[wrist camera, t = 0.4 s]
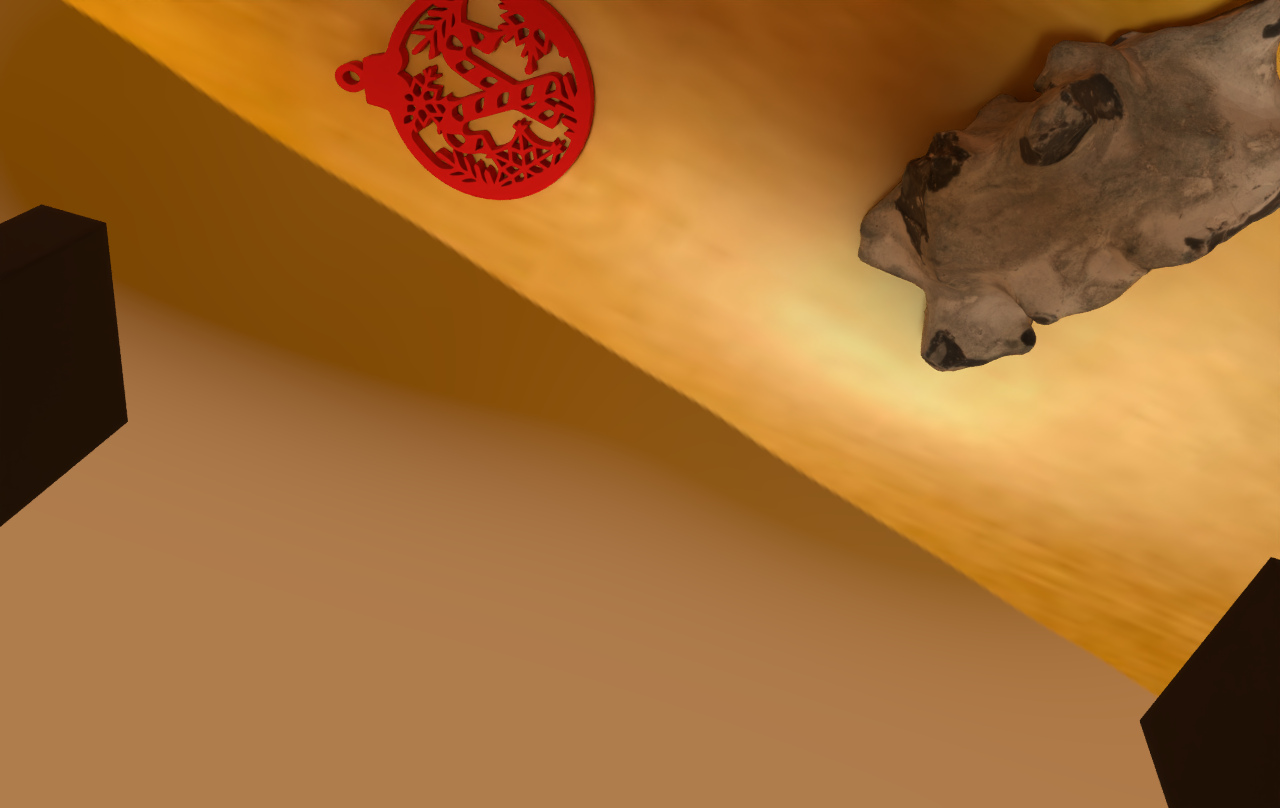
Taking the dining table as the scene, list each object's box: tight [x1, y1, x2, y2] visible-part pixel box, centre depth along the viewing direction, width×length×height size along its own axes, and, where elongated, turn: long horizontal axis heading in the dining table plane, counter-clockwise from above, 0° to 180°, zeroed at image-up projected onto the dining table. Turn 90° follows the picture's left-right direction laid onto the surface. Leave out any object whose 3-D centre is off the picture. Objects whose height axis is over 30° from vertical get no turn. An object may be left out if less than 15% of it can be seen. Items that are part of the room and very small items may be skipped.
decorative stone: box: [858, 0, 1280, 372], centre depth 29 cm, size 16×9×10 cm, turn 148°
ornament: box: [335, 0, 594, 200], centre depth 35 cm, size 8×1×10 cm
